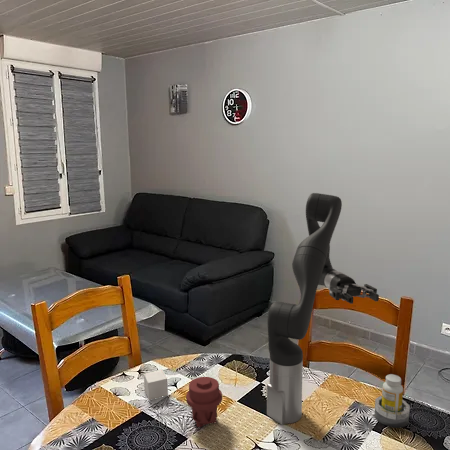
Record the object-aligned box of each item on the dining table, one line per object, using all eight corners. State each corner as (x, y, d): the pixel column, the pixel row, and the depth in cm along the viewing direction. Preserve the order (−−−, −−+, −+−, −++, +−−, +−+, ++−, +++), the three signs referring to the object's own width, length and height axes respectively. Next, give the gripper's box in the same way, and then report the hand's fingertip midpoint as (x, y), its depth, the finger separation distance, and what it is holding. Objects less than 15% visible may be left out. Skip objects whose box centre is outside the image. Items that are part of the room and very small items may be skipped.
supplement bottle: (386, 415, 116) (388, 383, 114) (378, 404, 121) (379, 373, 120) (405, 414, 116) (407, 382, 115) (395, 403, 122) (397, 372, 120)
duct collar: (397, 432, 113) (398, 418, 112) (368, 416, 120) (368, 403, 119) (414, 419, 118) (415, 406, 118) (385, 404, 125) (386, 391, 125)
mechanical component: (193, 436, 112) (182, 415, 121) (228, 426, 116) (214, 406, 125) (192, 394, 110) (181, 376, 119) (227, 385, 114) (213, 368, 123)
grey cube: (149, 401, 129) (148, 383, 128) (144, 391, 134) (143, 373, 133) (168, 396, 131) (167, 378, 130) (162, 386, 137) (161, 369, 136)
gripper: (320, 274, 142) (344, 289, 127) (358, 271, 145) (386, 285, 130) (320, 296, 144) (343, 313, 128) (357, 292, 147) (385, 309, 131)
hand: (365, 299), depth 129 cm, fingers open, 8 cm apart
